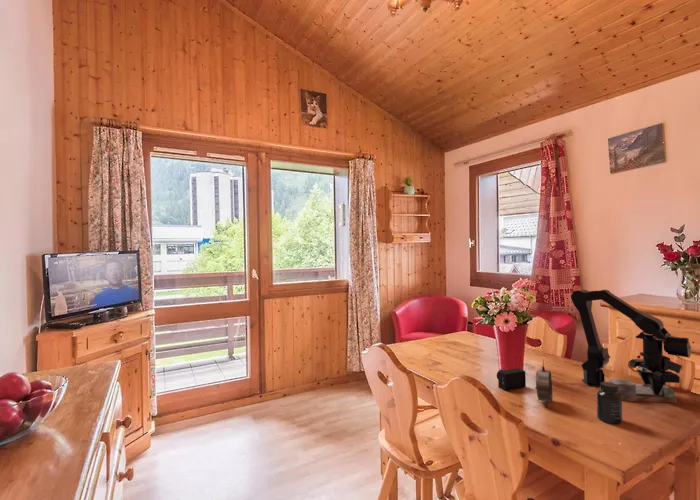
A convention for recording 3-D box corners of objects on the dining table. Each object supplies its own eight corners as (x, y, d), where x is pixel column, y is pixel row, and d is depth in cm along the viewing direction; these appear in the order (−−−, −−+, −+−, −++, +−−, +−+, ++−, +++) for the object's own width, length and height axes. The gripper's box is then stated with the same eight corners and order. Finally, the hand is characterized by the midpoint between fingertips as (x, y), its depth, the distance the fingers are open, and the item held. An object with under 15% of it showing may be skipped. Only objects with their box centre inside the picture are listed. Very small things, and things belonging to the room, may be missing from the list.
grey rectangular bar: (631, 394, 134) (630, 386, 134) (625, 390, 137) (625, 382, 137) (670, 395, 131) (670, 387, 131) (663, 392, 135) (663, 384, 135)
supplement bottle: (592, 416, 121) (591, 380, 121) (610, 415, 121) (609, 379, 121) (608, 426, 114) (607, 388, 114) (628, 424, 115) (627, 387, 115)
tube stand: (616, 399, 133) (615, 384, 133) (607, 393, 139) (606, 378, 139) (676, 402, 130) (676, 386, 130) (665, 395, 136) (664, 380, 136)
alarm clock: (551, 410, 126) (550, 364, 126) (534, 406, 129) (533, 362, 129) (553, 398, 135) (552, 356, 135) (537, 396, 138) (536, 354, 138)
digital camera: (515, 383, 152) (515, 366, 152) (525, 387, 147) (525, 370, 147) (496, 386, 149) (495, 370, 149) (505, 391, 144) (505, 374, 144)
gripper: (697, 359, 123) (698, 404, 123) (659, 345, 142) (660, 384, 142) (660, 358, 125) (661, 403, 125) (628, 344, 144) (629, 383, 143)
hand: (653, 393), depth 134 cm, fingers closed on grey rectangular bar, 3 cm apart
